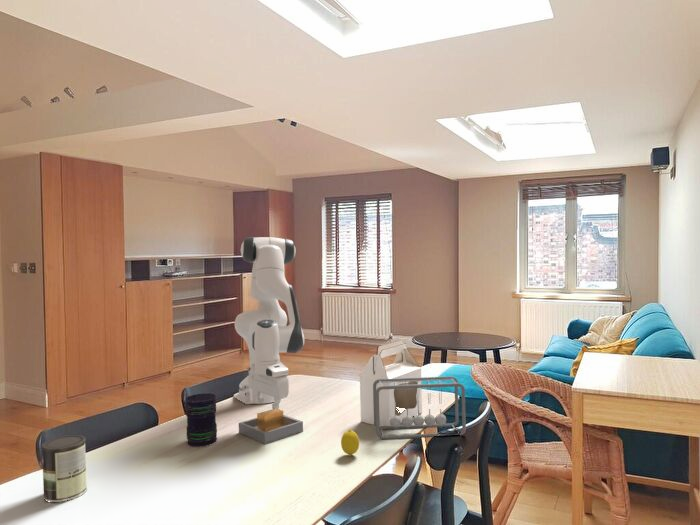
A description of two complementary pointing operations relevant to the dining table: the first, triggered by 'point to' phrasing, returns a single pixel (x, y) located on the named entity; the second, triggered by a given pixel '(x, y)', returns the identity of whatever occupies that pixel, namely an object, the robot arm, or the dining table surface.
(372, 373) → the gable box
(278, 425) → the wooden block
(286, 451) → the dining table surface
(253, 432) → the grey tray
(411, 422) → the newton's cradle
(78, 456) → the coffee can
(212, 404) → the black ridged cylinder
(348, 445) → the lemon
